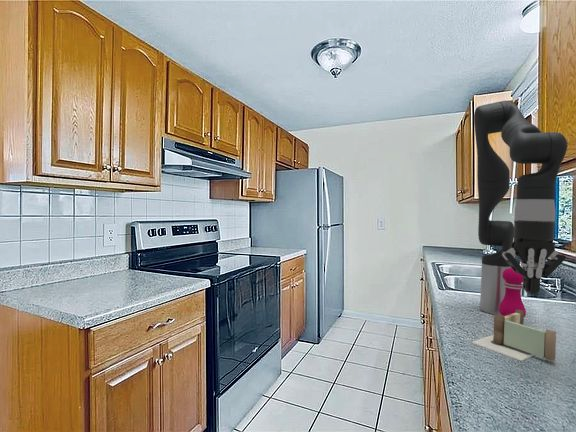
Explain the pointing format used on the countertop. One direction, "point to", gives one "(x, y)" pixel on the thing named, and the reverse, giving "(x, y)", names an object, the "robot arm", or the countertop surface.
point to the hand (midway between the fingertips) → (530, 292)
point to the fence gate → (530, 340)
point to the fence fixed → (500, 322)
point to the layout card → (502, 348)
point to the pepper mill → (512, 293)
